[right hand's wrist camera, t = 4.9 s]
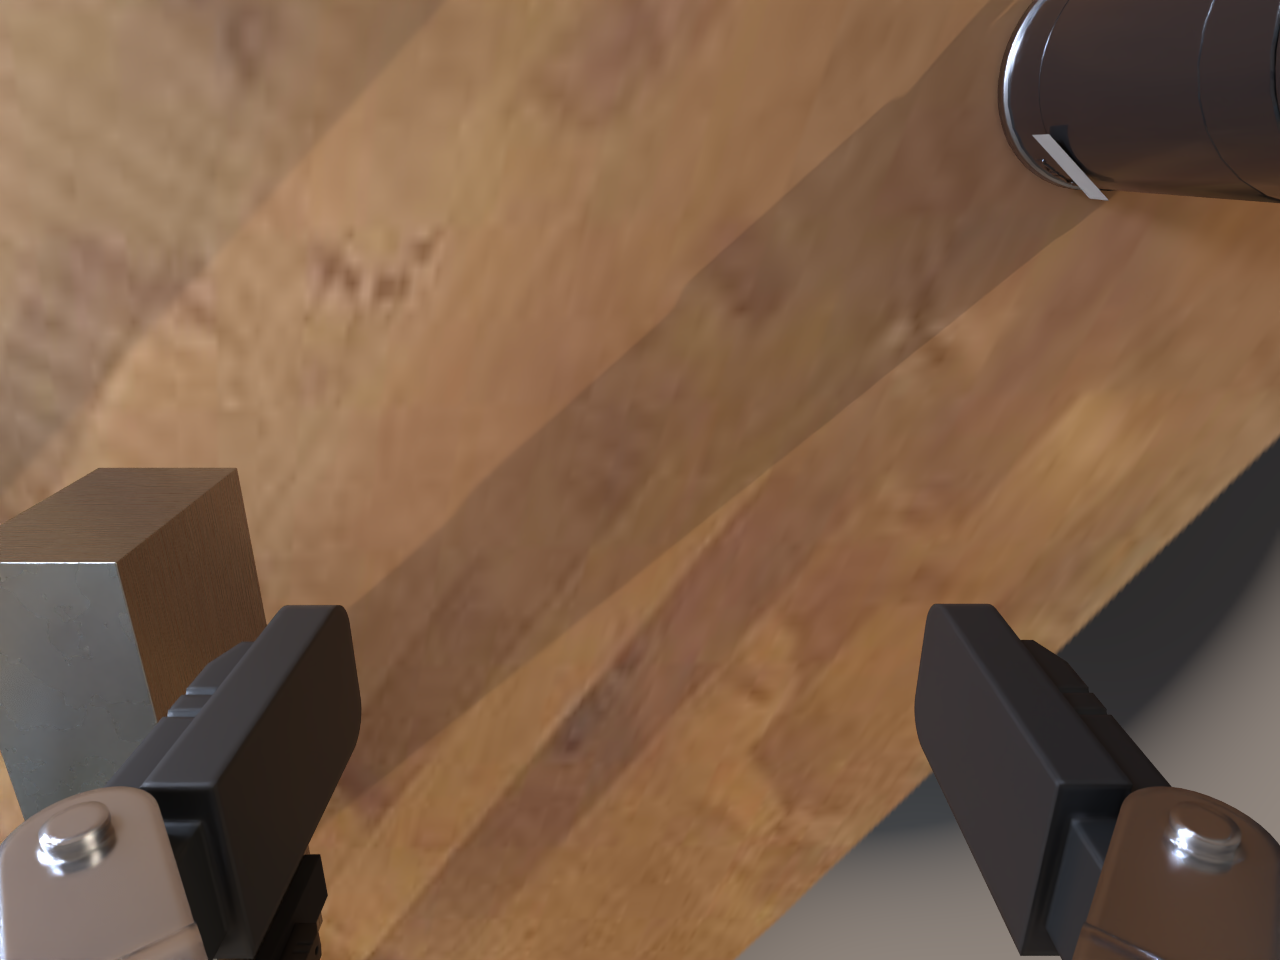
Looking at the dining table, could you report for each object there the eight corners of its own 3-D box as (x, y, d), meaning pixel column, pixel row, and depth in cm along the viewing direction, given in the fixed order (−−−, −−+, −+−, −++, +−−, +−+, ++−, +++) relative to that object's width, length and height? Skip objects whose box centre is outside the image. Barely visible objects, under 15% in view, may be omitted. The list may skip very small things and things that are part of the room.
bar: (98, 467, 34) (-66, 562, 26) (237, 467, 34) (115, 562, 26) (213, 921, 43) (118, 1093, 35) (323, 921, 43) (252, 1093, 35)
